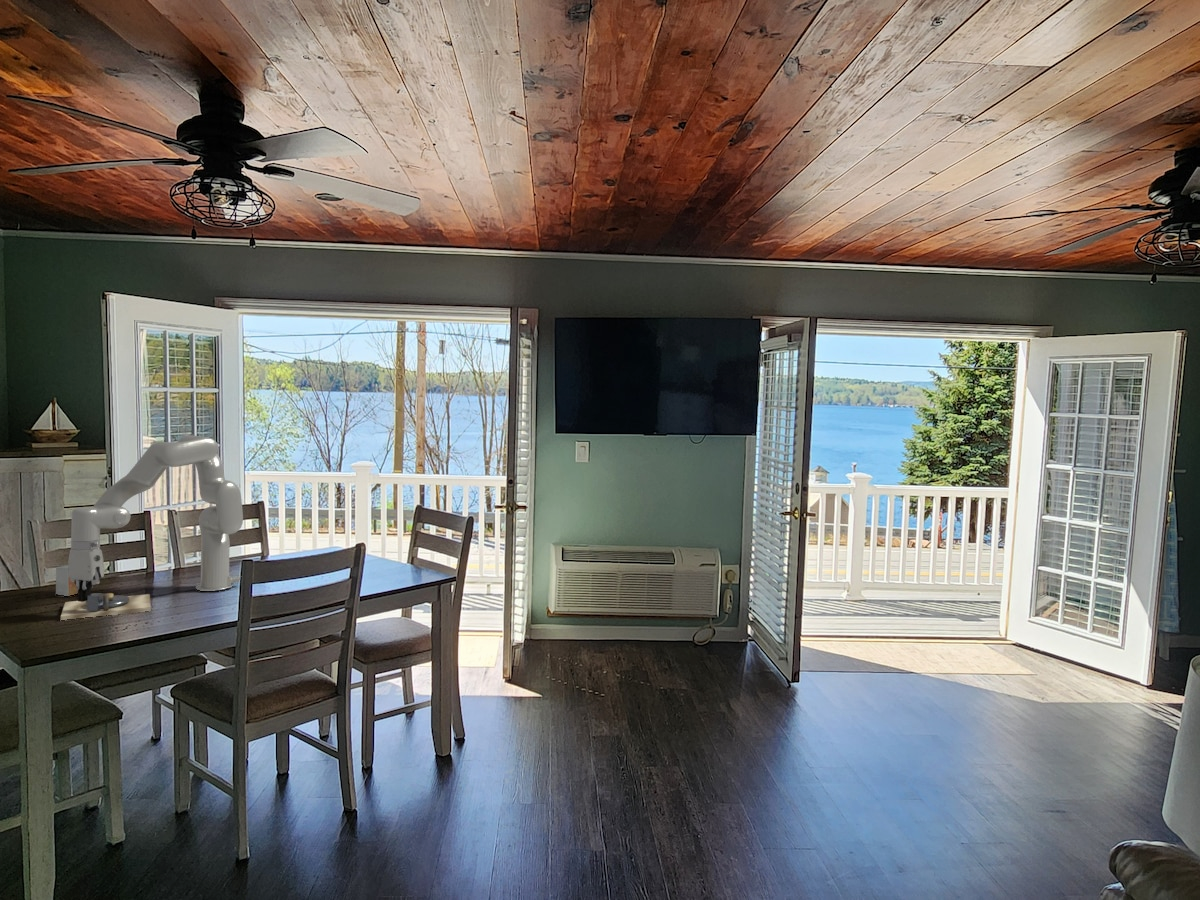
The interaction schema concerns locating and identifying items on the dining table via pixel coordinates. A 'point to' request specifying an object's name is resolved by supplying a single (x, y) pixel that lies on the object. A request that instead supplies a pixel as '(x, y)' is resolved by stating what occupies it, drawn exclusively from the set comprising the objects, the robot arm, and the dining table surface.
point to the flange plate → (97, 602)
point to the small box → (64, 582)
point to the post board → (106, 607)
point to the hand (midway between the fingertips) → (84, 600)
